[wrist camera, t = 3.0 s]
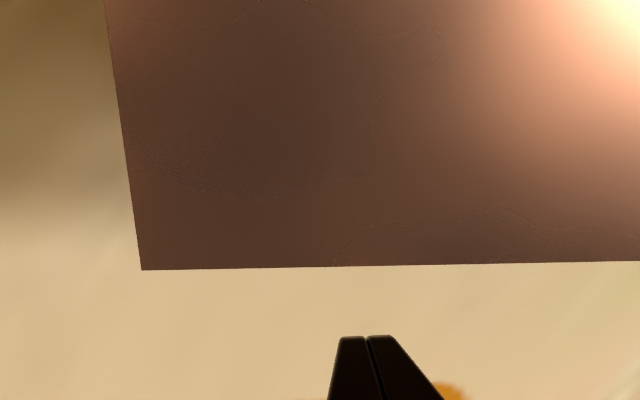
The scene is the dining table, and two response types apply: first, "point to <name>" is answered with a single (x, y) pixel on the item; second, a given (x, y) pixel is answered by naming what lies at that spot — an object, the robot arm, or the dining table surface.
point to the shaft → (379, 131)
